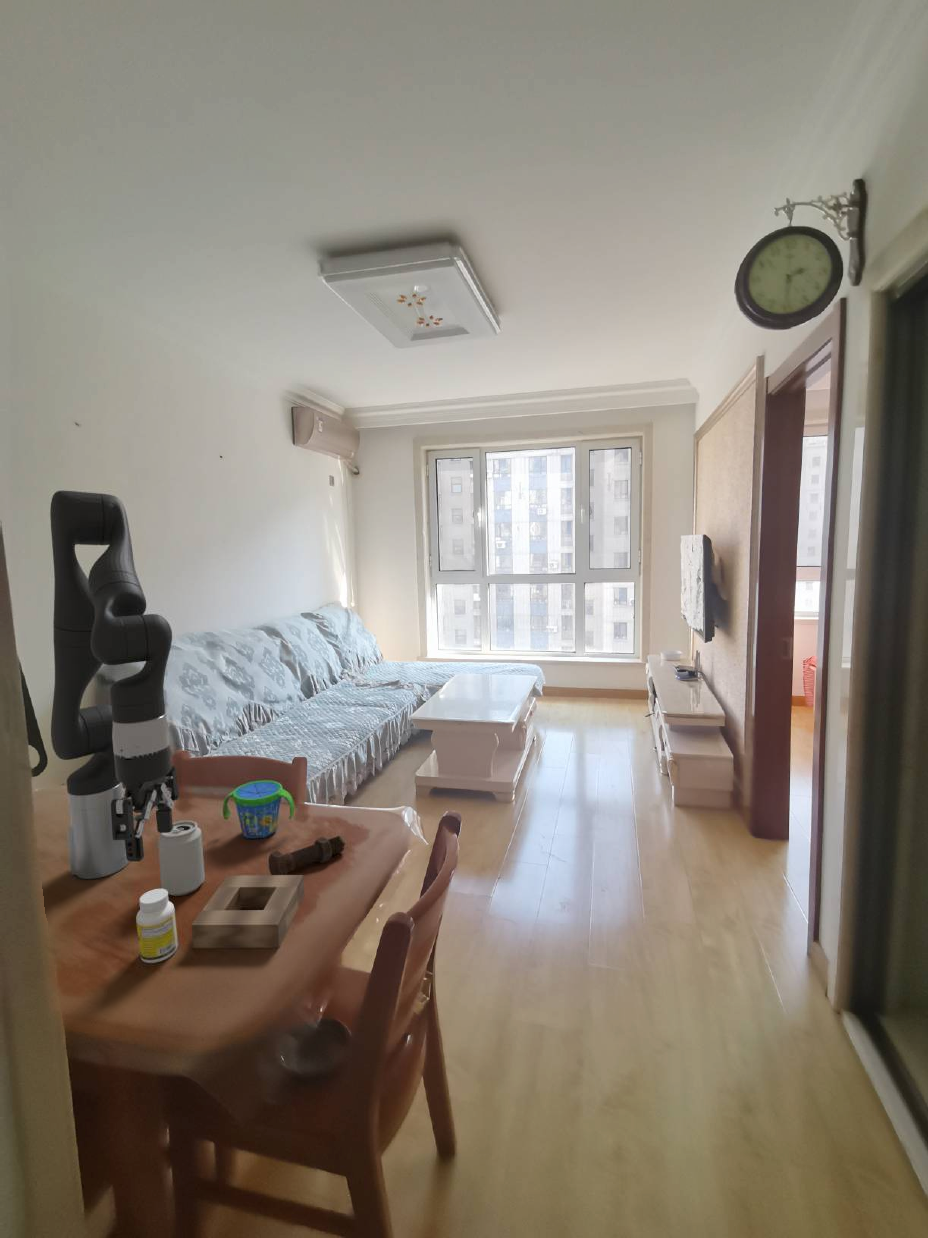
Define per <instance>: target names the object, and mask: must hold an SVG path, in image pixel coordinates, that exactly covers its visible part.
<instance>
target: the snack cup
mask: <svg viewBox="0 0 928 1238" xmlns="http://www.w3.org/2000/svg"><path fill="white" fill-rule="evenodd" d="M231 797H232V799H233V802H234V804H235V807H236V811H237V816H238V817H237V818H238V821H239V825H240V829H241V833H242V835H243V836H244V837H245V838H246V839H258V838H262V839H265V838H266V837H268V836H271V835H272V834H274V833H275V832H276V831H277V829H278V824H279V818H280V817H279V815H280V807H281V801H282V797H283V798H284V799H285V800H286V803H288V804H289V806H290V807H289V817H288V819H289V820H292V818H293V816H294V812H295V803H294V799H293V797H292V795H291V794H290V793H289V792H288V791H287V790H285V789H284V788H283V785H282V784H281V783H280V782H277V781H275V780H256V781H255V780H254V781H250V782H246V783H245V784H242V785H239V786H238V787H236V788H235V789H234V790H233V791H231V792H230V793H229V794H228V795H227V796H226V797H225V799H224V801H223V805H222V816H223V819H224V820H227V819H229V818H230V815H231V813H230V812H231V811H230V809H229V805H228V804H229V800H230V798H231Z"/></svg>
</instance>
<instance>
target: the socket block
mask: <svg viewBox="0 0 928 1238" xmlns="http://www.w3.org/2000/svg"><path fill="white" fill-rule="evenodd" d="M304 881H305V880H304V875H302V874H286V875H271V874H268V875H267V874H266V875H265V874H264V875H263V874H262V875H261V874H259V875H255V874H253V875H252V874H251V875H250V874H249V875H248V874H247V875H246V874H245V875H241V874H240V875H238V874H237V875H233V874H232V875H231V874H230V875H227V876H226V877H225V879H224V880H223V881H222V883H221V884H220V885H219V887H218V888H217V889H216V891H215V893H214V894H213V895H212V896H211V898H210V899H209V901H208V902H207V903H206V905H205V906H204V907H203V908H202V910H201V911H200V913H199V914H198V915H197V917H196V918H195V919H194V921H193V922H192V923H191V924H190V925H191V935H192V936H191V937H192V948H193V949H208V948H209V949H213V948H214V949H216V948H217V949H222V948H223V949H225V948H226V949H228V948H229V949H231V948H232V949H234V948H237V949H238V948H240V949H243V948H248V949H250V948H251V949H253V948H254V949H255V948H256V949H257V948H259V949H260V948H269V949H270V948H274V949H275V948H277V949H278V948H280V947H281V945H282V943H283V942H284V939H285V937H286V935H287V932H288V931H289V928H290V926H291V924H292V922H293V920H294V918H295V916H296V913H297V912H298V910H299V908H300V904H302V901H303V899H304V897H305V882H304ZM242 909H245V910H242ZM247 909H248V910H247ZM249 909H250V910H249ZM251 909H252V910H251ZM254 909H255V910H254ZM256 909H257V910H256ZM261 909H262V910H261Z"/></svg>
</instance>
